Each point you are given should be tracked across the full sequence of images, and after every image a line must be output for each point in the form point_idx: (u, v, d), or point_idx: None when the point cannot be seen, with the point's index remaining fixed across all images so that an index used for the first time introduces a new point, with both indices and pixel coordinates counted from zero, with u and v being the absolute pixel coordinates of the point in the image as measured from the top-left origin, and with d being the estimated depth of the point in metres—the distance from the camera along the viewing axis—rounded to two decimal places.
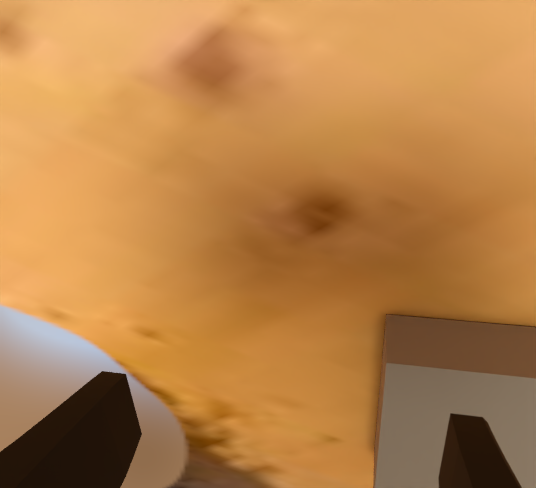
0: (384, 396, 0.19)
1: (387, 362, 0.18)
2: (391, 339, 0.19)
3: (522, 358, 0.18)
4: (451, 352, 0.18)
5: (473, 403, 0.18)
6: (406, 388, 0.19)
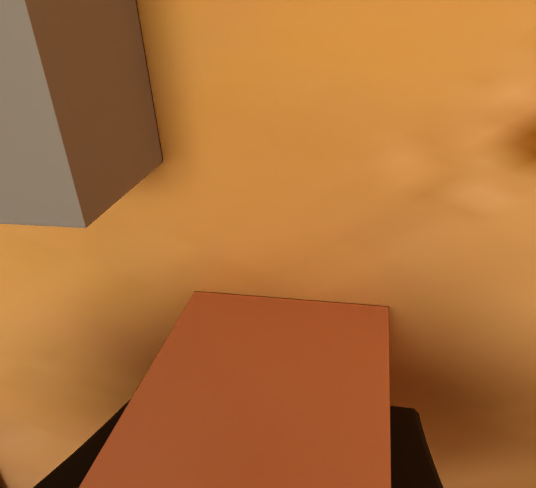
0: None
1: None
2: None
3: None
4: None
5: None
6: None
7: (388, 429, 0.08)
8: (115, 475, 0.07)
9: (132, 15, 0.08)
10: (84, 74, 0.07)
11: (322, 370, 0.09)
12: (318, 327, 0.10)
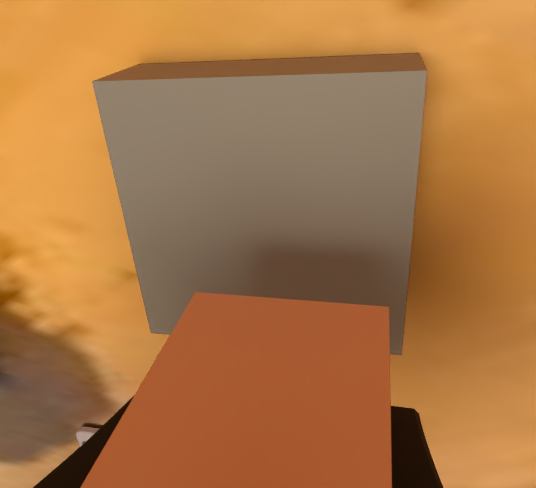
0: (108, 143, 0.14)
1: (93, 81, 0.13)
2: (121, 72, 0.15)
3: (272, 69, 0.13)
4: (185, 72, 0.14)
5: (211, 136, 0.14)
6: (127, 123, 0.14)
7: (389, 429, 0.08)
8: (116, 476, 0.07)
9: None
10: None
11: (322, 370, 0.09)
12: (318, 327, 0.10)
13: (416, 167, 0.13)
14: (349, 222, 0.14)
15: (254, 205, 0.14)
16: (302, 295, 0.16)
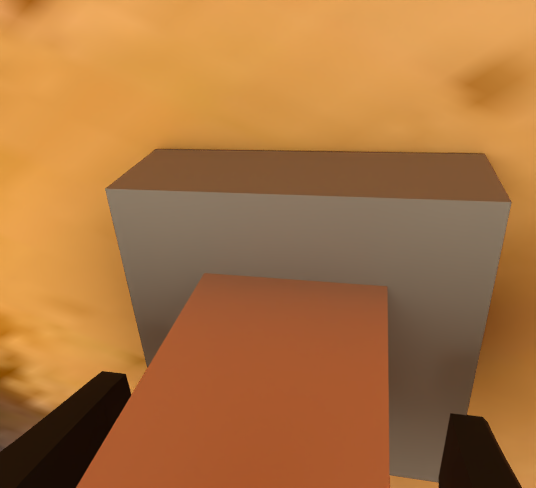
0: (121, 252, 0.12)
1: (107, 188, 0.11)
2: (137, 168, 0.13)
3: (317, 178, 0.11)
4: (213, 177, 0.12)
5: (244, 253, 0.12)
6: (145, 234, 0.12)
7: (386, 392, 0.08)
8: (136, 432, 0.08)
9: None
10: None
11: (325, 342, 0.10)
12: (321, 304, 0.11)
13: (488, 302, 0.11)
14: (402, 350, 0.12)
15: None
16: None
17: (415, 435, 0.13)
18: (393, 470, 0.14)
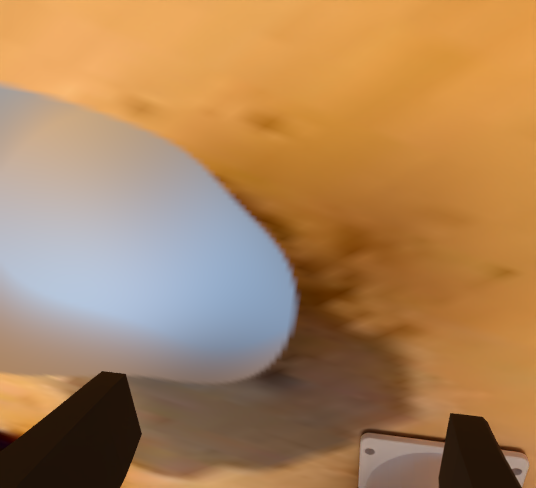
0: None
1: None
2: None
3: None
4: None
5: None
6: None
7: None
8: None
9: None
10: None
11: None
12: None
13: None
14: None
15: None
16: None
17: None
18: None
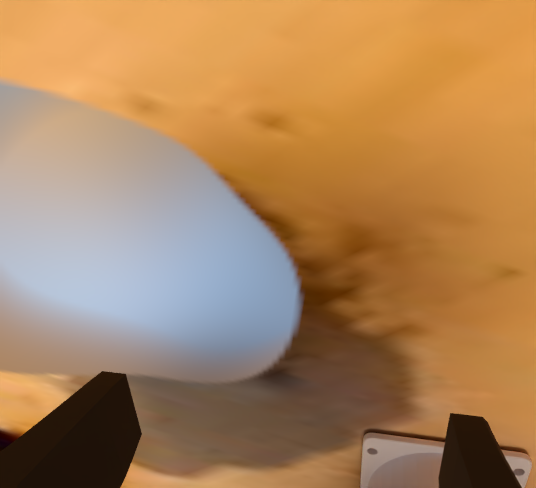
0: None
1: None
2: None
3: None
4: None
5: None
6: None
7: None
8: None
9: None
10: None
11: None
12: None
13: None
14: None
15: None
16: None
17: None
18: None
